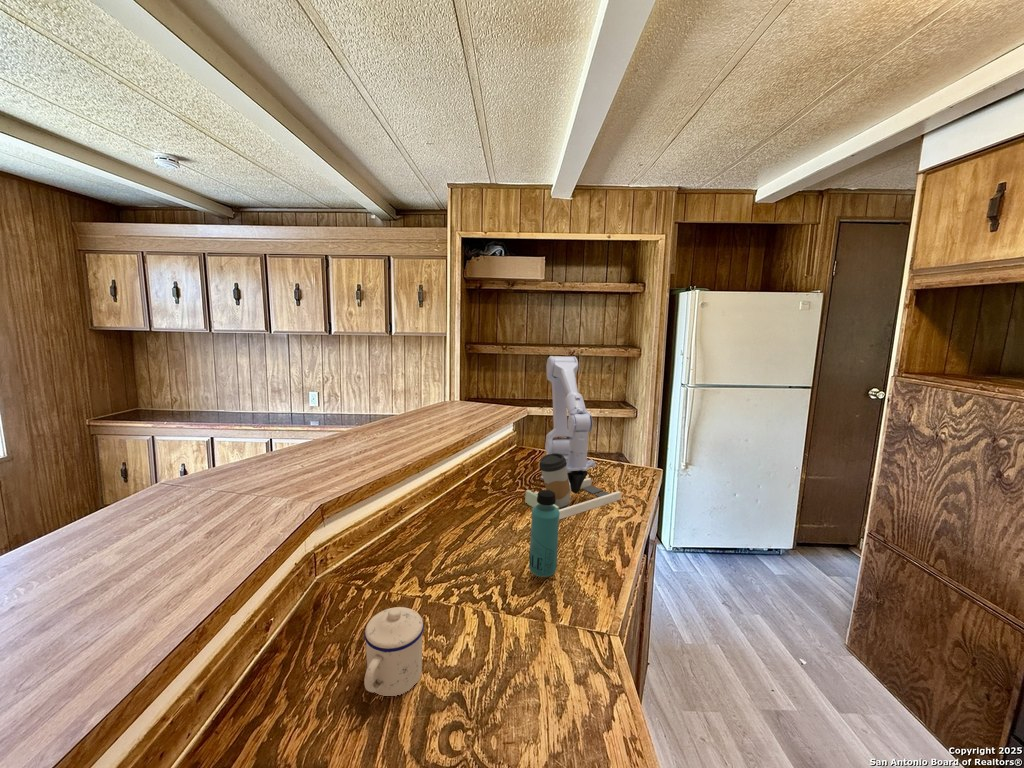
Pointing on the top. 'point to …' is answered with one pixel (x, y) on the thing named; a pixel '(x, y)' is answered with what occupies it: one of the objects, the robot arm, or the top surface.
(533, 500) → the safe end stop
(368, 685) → the teacup with lid
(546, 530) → the beverage bottle
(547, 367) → the robot arm
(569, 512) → the lane box
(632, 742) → the top surface
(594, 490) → the trap pits
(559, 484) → the coffee cup
